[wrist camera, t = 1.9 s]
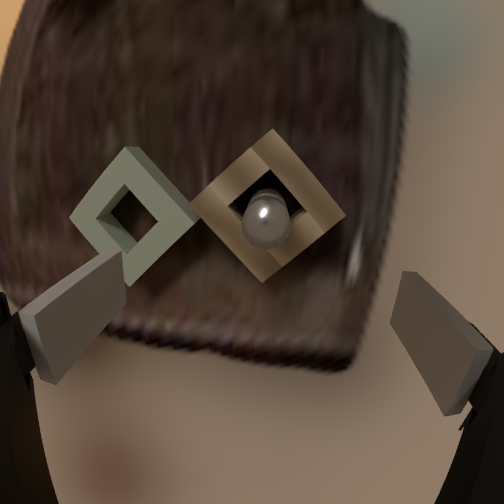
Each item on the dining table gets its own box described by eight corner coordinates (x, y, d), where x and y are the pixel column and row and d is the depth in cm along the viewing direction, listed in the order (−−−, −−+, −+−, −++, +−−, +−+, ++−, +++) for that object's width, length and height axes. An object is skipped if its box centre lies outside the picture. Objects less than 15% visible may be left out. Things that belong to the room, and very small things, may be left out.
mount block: (272, 131, 34) (272, 128, 30) (338, 209, 36) (345, 215, 32) (196, 198, 37) (188, 204, 33) (262, 270, 39) (261, 283, 35)
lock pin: (269, 179, 36) (268, 190, 24) (291, 204, 36) (301, 228, 25) (243, 201, 37) (231, 223, 25) (266, 226, 37) (263, 259, 26)
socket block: (138, 146, 35) (124, 146, 31) (202, 216, 37) (194, 223, 34) (85, 211, 38) (69, 217, 34) (141, 275, 40) (129, 286, 37)
